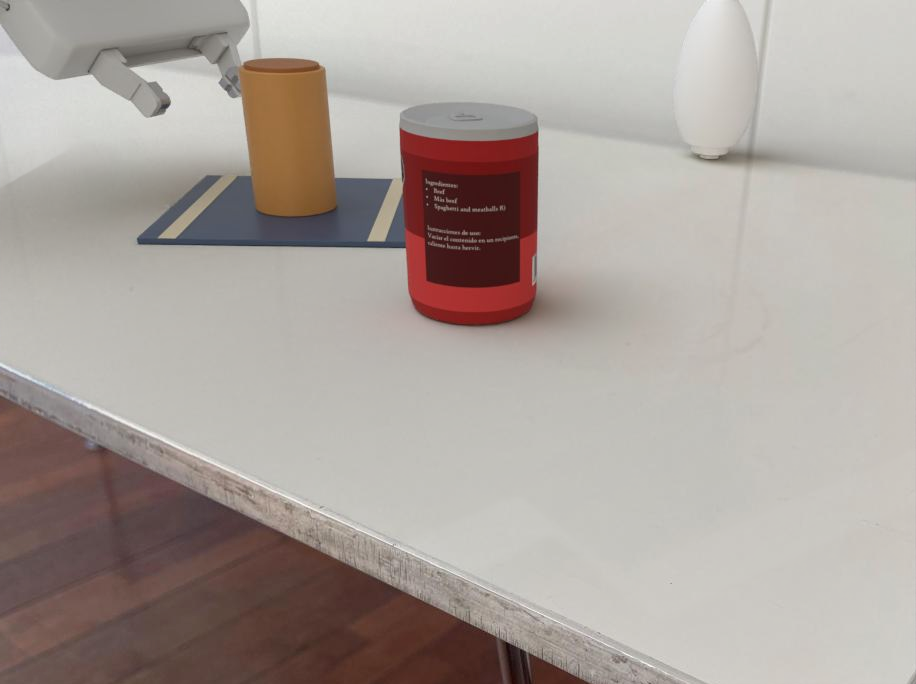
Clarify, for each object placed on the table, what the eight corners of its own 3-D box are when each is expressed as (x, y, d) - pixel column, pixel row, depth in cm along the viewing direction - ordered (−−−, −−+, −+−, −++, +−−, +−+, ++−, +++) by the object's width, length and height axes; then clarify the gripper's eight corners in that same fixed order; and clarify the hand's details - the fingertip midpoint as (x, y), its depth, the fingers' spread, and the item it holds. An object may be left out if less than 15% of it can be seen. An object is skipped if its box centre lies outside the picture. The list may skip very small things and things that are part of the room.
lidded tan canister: (247, 216, 73) (227, 67, 68) (264, 195, 78) (248, 56, 73) (330, 217, 74) (317, 70, 69) (342, 197, 79) (331, 58, 74)
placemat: (137, 243, 68) (136, 237, 68) (207, 179, 84) (206, 174, 83) (405, 247, 69) (405, 241, 69) (424, 184, 85) (424, 178, 85)
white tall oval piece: (765, 161, 98) (788, -42, 90) (706, 169, 94) (725, -43, 86) (711, 145, 104) (728, -47, 95) (653, 153, 100) (666, -48, 91)
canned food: (483, 273, 65) (480, 97, 60) (564, 308, 60) (568, 119, 55) (382, 297, 60) (369, 108, 55) (460, 337, 55) (455, 133, 50)
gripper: (-33, -85, 63) (120, 92, 65) (189, -84, 80) (305, 57, 82) (-66, -12, 66) (80, 154, 68) (154, -26, 83) (266, 108, 85)
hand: (204, 101), depth 75 cm, fingers open, 8 cm apart
